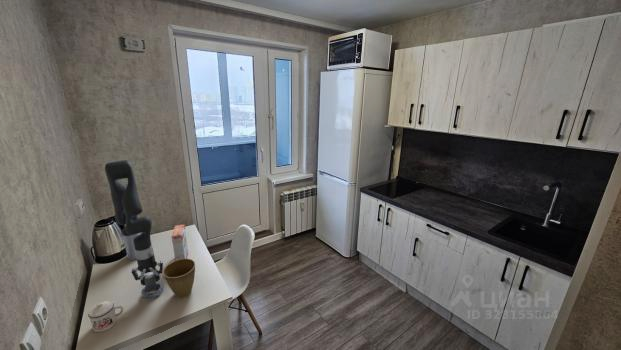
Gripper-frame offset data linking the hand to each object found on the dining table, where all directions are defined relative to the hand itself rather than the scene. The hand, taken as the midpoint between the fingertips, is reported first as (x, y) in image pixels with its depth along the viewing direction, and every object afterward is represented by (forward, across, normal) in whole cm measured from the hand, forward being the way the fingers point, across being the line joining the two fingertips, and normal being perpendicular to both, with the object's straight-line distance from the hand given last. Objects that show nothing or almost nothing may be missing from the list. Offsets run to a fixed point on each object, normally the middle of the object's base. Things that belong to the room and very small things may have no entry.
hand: (150, 282), depth 132 cm
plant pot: (+7, -14, +8) cm, 17 cm away
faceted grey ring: (+7, 0, 0) cm, 7 cm away
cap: (+1, 0, 0) cm, 1 cm away
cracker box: (+7, -16, -25) cm, 30 cm away
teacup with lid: (+7, +17, +12) cm, 22 cm away
